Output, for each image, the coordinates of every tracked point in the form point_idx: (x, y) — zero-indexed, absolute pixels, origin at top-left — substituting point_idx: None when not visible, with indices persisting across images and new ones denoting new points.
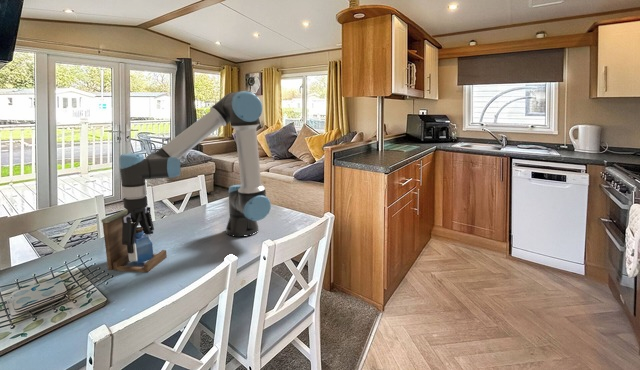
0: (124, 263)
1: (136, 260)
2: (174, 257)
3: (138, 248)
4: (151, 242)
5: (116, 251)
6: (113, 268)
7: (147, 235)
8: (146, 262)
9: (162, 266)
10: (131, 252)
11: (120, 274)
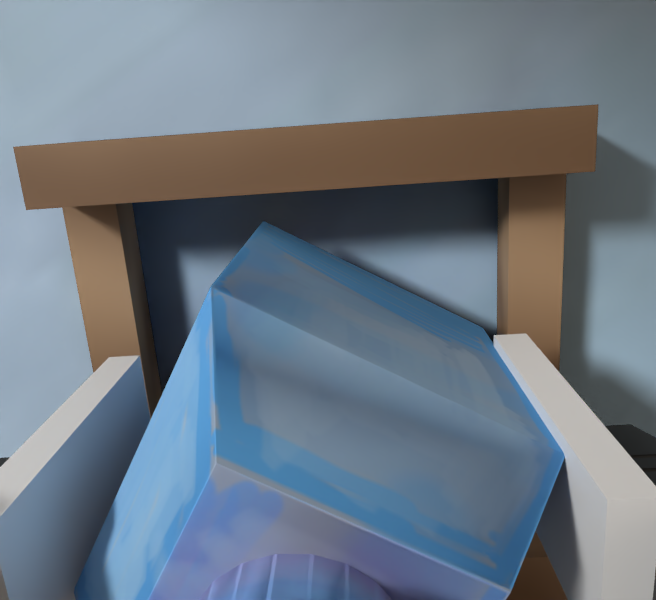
0: None
1: (520, 338)
2: (39, 22)
3: (501, 410)
4: (219, 299)
5: None
6: None
7: (6, 562)
8: (524, 168)
9: (351, 18)
10: (652, 439)
11: (630, 400)
